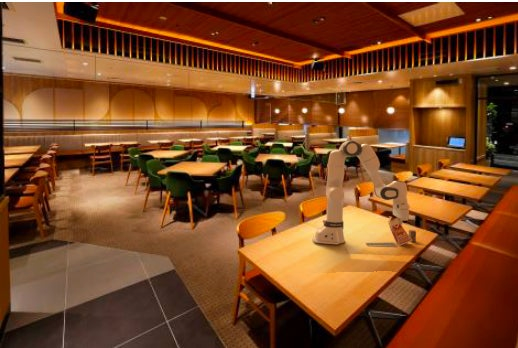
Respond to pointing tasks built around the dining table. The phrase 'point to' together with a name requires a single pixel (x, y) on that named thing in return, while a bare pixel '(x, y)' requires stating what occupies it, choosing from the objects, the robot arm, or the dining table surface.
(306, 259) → the dining table surface
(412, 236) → the walnut block
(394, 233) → the milk carton
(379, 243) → the strip
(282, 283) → the dining table surface
